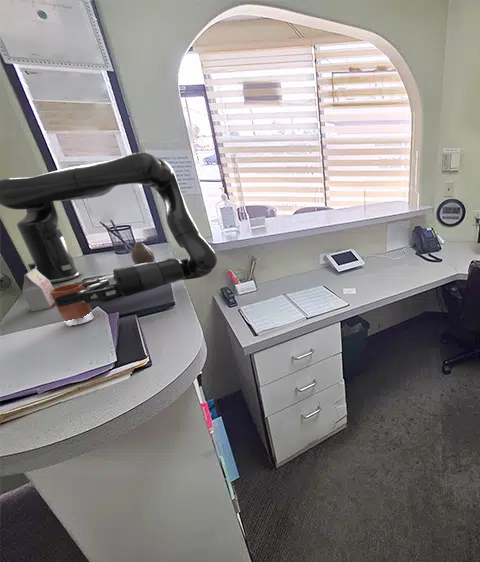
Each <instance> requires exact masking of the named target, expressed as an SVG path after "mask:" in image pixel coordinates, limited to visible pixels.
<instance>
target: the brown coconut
mask: <svg viewBox="0 0 480 562" xmlns="http://www.w3.org/2000/svg"><path fill="white" fill-rule="evenodd" d="M130 257H131V260H132V262H133V263H134V265H137V264H141V263H147V262H155V259H156V258H155V257H156V256H155V254H154V252H153V250H152V249H151V248H149V247H148V246H147V245H145V244H144V243H143V242H137V243H134V246H133V248H132V251H131V255H130Z"/></svg>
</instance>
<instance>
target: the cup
mask: <svg viewBox="0 0 480 562" xmlns="http://www.w3.org/2000/svg"><path fill="white" fill-rule="evenodd" d="M82 290H83V288H82V285H81V284H74V283H70V284H65V285H64V284H63V285H60V286H57V287H53V289H52V290H51V291H50V293H51V295H52V297H53V299H54V301H55V298H56V297H59V296H63V295H67V294H72V293H76V294H77V292H79V291H82ZM54 304H55V306H56V307H57V310H58V312H59V314H60V317H61V319H62V321H63V322H64V321H68V320H72V319H78V318H83V317H84V316H86V315H87V314H89V313H90V312H93V310H92V307H91V305H90V303H85V302H77V303H73V304H69V305H65V306H61V307H59V306H58V305H57V303H56V301H55V303H54ZM85 324H86V323H84V324H77V325H74V326H73V327H77V326H82V325H85Z"/></svg>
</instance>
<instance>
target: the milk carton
mask: <svg viewBox="0 0 480 562" xmlns="http://www.w3.org/2000/svg"><path fill="white" fill-rule="evenodd" d="M52 289H54V286H53V285H52V283H51V282H50V280H48V279H47V278H46V277H45V276H43V275H42V274H41V273H40V272H39V271H38V270H37V269H36V268H35V269H32V270H30V271H27V273H24V275H23V285H22V289H21V293H22V294H23V296H24V299H25V301H26V303H27V304H28V307H29V309H30V311H31V312H37V311H41V310H47V309H51V308H52V307H53V306H54V305H55V304H56V303H55V301H54V299H53V297H52V295H51V293H50V291H51V290H52Z"/></svg>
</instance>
